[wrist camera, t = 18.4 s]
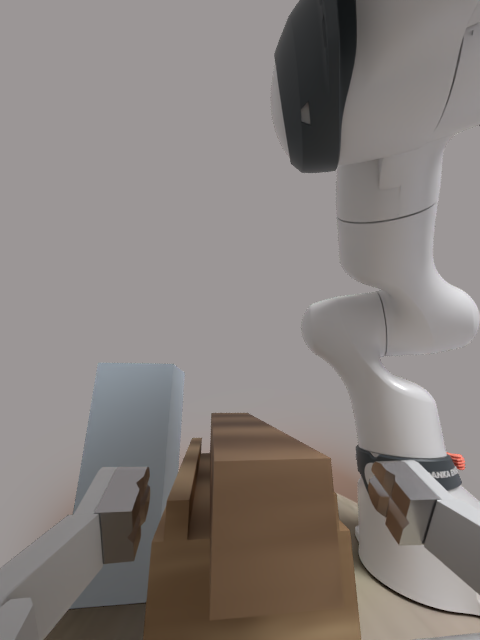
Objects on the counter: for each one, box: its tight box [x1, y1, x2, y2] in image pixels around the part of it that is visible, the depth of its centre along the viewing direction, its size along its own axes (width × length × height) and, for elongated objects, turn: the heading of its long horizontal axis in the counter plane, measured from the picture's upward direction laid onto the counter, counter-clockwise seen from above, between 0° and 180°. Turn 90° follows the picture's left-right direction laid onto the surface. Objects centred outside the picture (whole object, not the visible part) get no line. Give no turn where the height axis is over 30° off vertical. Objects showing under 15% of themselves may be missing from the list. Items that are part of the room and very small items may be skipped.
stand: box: [69, 363, 185, 609], centre depth 38 cm, size 16×10×26 cm, turn 6°
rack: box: [143, 438, 361, 640], centre depth 17 cm, size 16×9×18 cm, turn 7°
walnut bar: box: [210, 413, 344, 621], centre depth 17 cm, size 20×4×4 cm, turn 7°
